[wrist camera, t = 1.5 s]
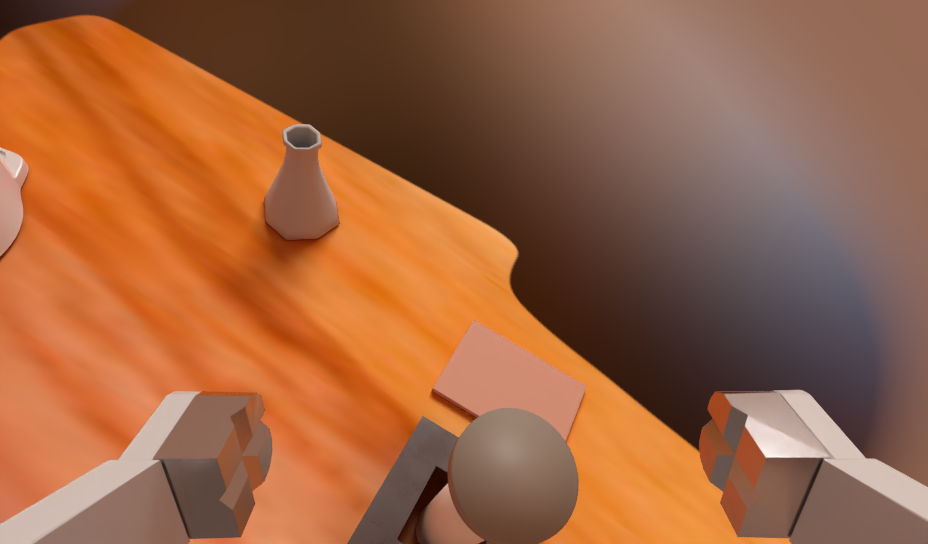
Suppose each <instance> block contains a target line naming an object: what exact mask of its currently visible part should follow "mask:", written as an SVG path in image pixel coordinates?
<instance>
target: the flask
mask: <svg viewBox="0 0 928 544" xmlns="http://www.w3.org/2000/svg"><path fill="white" fill-rule="evenodd" d="M282 133H283V143H284V145H285V146H286V153H285V157H284V162H283V164H282V166H281V168H280V170H279V172H278V174H277V176H276V178H275V180H274V182H273V184H272V185H271V187H270V189H269V190H268V192H267V194H266V196H265V198H264V206H265V221H266V222H267V223H268V224H269V225H270V226H271V227H272V228H273V229H274V230H276V231H277V232H278V233H279V234H280V235H281V236H282V237H283V238H285V239H286V240H296V239H317V238H319V237H321V236H322V235H323V234H325V233H326V232H328V231H329V230H331V229H332V228H334V227H335V226H337V225H338V224H340V222H339V216H338V210H337V203H336V200H335V198H334V195H333V193H332V191H331V189H330V188H329V186H328V184H327V181H326V179H325V177H324V175H323V172H322V170H321V168H320V165H319V161H318V149H319V148H321V146H322V143H321V136H320V133H319V132H318V131H317V130H316V129H314V128H313V127H312V126H311V125H304V124H294V125H292V126H290V127H288V128H286V129H284V130H282Z"/></svg>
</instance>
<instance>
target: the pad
mask: <svg viewBox="0 0 928 544" xmlns="http://www.w3.org/2000/svg"><path fill="white" fill-rule="evenodd" d="M586 387H587V386H586V385H584V384H582V383H581V382H579V381H577V380H575V379H574V378H572V377H570V376H569V375H567V374H565V373H564V372H562V371H560V370H558V369H557V368H555V367H553V366H552V365H550V364H548V363H547V362H545V361H543V360H541V359H540V358H538V357H536V356H535V355H533V354H531V353H530V352H528V351H526V350H524V349H523V348H521V347H519V346H518V345H516V344H514V343H513V342H511V341H509V340H507V339H506V338H504V337H502V336H501V335H499V334H497V333H496V332H494V331H492V330H490V329H489V328H487V327H485V326H484V325H482V324H480V323H479V322H477V321H475V320H474V321H473V322H472V324H471V326H470V327H469V329H468V331H467V332H466V334H465V336H464V337H463V339H462V341H461V342H460V344H459V346H458V347H457V349H456V351H455V352H454V354H453V356H452V357H451V359H450V361H449V362H448V364H447V366H446V367H445V369H444V371H443V372H442V374H441V376H440V377H439V379H438V381H437V382H436V384H435V386H434V387H433V389H432V391H433V392H435V393H436V394H438V395H440V396H441V397H443V398H445V399H446V400H448V401H450V402H451V403H453V404H455V405H456V406H458V407H459V408H461V409H463V410H464V411H466V412H468V413H469V414H471V415H473V416H474V417H476V418H478V417H479V416H481V415H482V414H484V413H487V412H489V411H492V410H495V409H500V408H517V409H522V410H526V411H529V412H531V413H534V414H536V415H538V416H540V417H541V418H543V419H544V420H546V421H547V422H548V423H550V424H551V425H552V426H553V427H554V428H555V429H556V430H557V431H558V432H559V433H560V435H561V436H562V437H563V439H564V440H565V441H566V439H567V436H568V434H569V431H570V428H571V426H572V423H573V421H574V418H575V415H576V413H577V410H578V408H579V405H580V402H581V400H582V397H583V395H584V392H585V389H586Z"/></svg>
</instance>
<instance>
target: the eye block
mask: <svg viewBox="0 0 928 544" xmlns="http://www.w3.org/2000/svg"><path fill="white" fill-rule="evenodd" d="M457 440H458V437H457V436H455V435H453V434H452V433H450V432H448V431H447V430H445V429H443V428H442V427H440V426H439V425H437V424H435V423H434V422H432V421H430V420H429V419H427V418H425V417H424V416H423V417H422V418H421V420H420V422H419V423H418V425H417V427H416V428H415V430H414V432H413V434H412V435H411V437H410V439H409V440H408V442H407V444H406V445H405V447H404V449H403V450H402V452H401V454H400V456H399V457H398V459H397V461H396V462H395V464H394V466H393V467H392V469H391V471H390V472H389V474H388V476H387V478H386V479H385V481H384V483H383V484H382V486H381V488H380V489H379V491H378V493H377V494H376V496H375V498H374V500H373V501H372V503H371V505H370V506H369V508H368V510H367V511H366V513H365V515H364V516H363V518H362V520H361V522H360V523H359V525H358V527H357V528H356V530H355V532H354V533H353V535H352V537H351V538H350V540H349V542H348V544H403V543H402V542H400V541H399V540H397V538H398V536H399V534H400V532H401V530H402V528H403V527H404V525H405V523H406V521H407V519H408V517H409V515H410V514H411V512H412V510H413V508H414V506H415V504H416V502H417V501H418V499H419V497H420V495H421V493H422V491H423V489H424V488H425V486H426V484H427V482H428V480H429V478H430V477H432V478H433V479H435V480H437V481H438V482H440V483H441V484H443V485H445V486H446V485H447V484H448V464H449V459H450V455H451V452H452V450H453V447H454V445H455V443H456V442H457ZM479 544H491V543H489V542H487V541H485V540H484V541H482V542H480V543H479Z"/></svg>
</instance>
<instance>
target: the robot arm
mask: <svg viewBox="0 0 928 544" xmlns="http://www.w3.org/2000/svg"><path fill="white" fill-rule="evenodd" d="M28 169H29V167H28V165H27V163H26V162H25V161H24V160H23V158H22V157H21V156H20V155H18V154H16V153H13V152H10V151H8V150H5V149H2V148H0V256H1V255H2V254H3V253H4V252H5V251H6V250H7V249H8V248H9V246H10V245H11V244H12V242H13V241H14V239H15V238H16V236H17V234H18V232H19V230H20V227H21V224H22V219H23V205H22V200H21V193H20V191H21V187H22V185H23V183H24V181H25V179H26V176H27V174H28ZM708 411H709V412H710V414H711V416H712V418H713V419H712V420H711V421H710V422H709V423H708V424H706V425H705V426H704V427H703V428H702V432H701V437H700V441H699V446H700V458H701V462H702V465H703V469H704V471H705V473H706V475H707V477H708V479H709V481H710V482H711V483H712V484H714V485H715V486H716V487H718V488H719V489H721V490H722V491H723V496H722V499H721V502H720V503H721V505H722V507H723V509H724V511H725V513H726V515H727V517H728V519H729V521H730V523H731V524H732V526H733V528H734V530H735V532H736V534H737V536H738V537H763V538H790V540H789V541H790V542H791V543H792V544H928V487H926V486H924V485H922V484H921V483H919V482H917V481H915V480H913V479H912V478H910V477H908V476H906V475H904V474H902V473H900V472H899V471H897V470H895V469H893V468H891V467H890V466H888V465H886V464H884V463H882V462H880V461H879V460H877V459H866V458H865V457H864V456H863V455H862V453H861V452H860V451H859V450H858V449H857V448H856V447H855V446H854V444H853V443H852V442H851V441H850V440H849V439H848V438H847V436H846V435H845V434H844V433H843V432H842V431H841V430H840V428H839V427H838V426H837V425H836V424H835V423H834V422H833V421H832V419H831V418H830V417H829V416H828V415H827V414H826V413H825V411H824V410H823V409H822V408H821V407H820V406H819V404H818V403H817V402H816V401H815V400H814V399H813V398H812V396H811V395H810V394H808V393H806V392H804V391H802V390H784V391H783V390H779V391H771V392H770V391H755V392H754V391H750V392H749V391H748V392H747V391H745V392H715V393H714V394H713V396H712V397H711V399H710V402H709V406H708ZM264 412H265V407H264V403H263V400H262V396H261V395H259V394H258V393H253V392H205V391H202V392H181V391H175V392H173V393H171V394H169V395H167V396H166V397H165V398H164V400H163V401H162V402H161V404H160V405H159V406H158V408H157V409H156V410H155V412H154V413H153V414H152V415H151V417H150V418H149V419H148V421H147V422H146V423H145V425H144V426H143V427H142V429H141V430H140V431H139V433H138V434H137V435H136V437H135V438H134V439H133V441H132V442H131V443H130V444H129V446H128V447H127V448H126V450H125V451H124V452H123V454H122V455H121V456H120V458H119V459H118V460H108V461H106V462H105V463H103V464H101V465H99V466H98V467H96V468H94V469H93V470H91V471H89V472H88V473H86V474H84V475H83V476H81V477H79V478H78V479H76V480H74V481H72V482H71V483H69V484H67V485H66V486H64V487H62V488H61V489H59V490H57V491H56V492H54V493H52V494H51V495H49V496H47V497H45V498H44V499H42V500H40V501H39V502H37V503H35V504H34V505H32V506H30V507H29V508H27V509H25V510H23V511H22V512H20V513H18V514H17V515H15V516H13V517H12V518H10V519H8V520H7V521H5V522H3V523H2V524H0V544H188V543H189V542H190V540H189V539H202V538H235V537H241V536H242V533H243V531H244V529H245V526H246V524H247V521H248V519H249V517H250V514H251V512H252V510H253V507H254V505H255V501H254V497H253V493H252V491H253V490H255V489H256V488H257V487H258V486H260V485H261V484H262V483H263V482H264V481H265V478H266V476H267V473H268V470H269V467H270V462H271V456H272V438H271V433H270V429H269V428H268V427H267V426H266V425H265V424H264V423H263V422H261V421H260V420H261V418H262V416H263V414H264Z"/></svg>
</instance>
